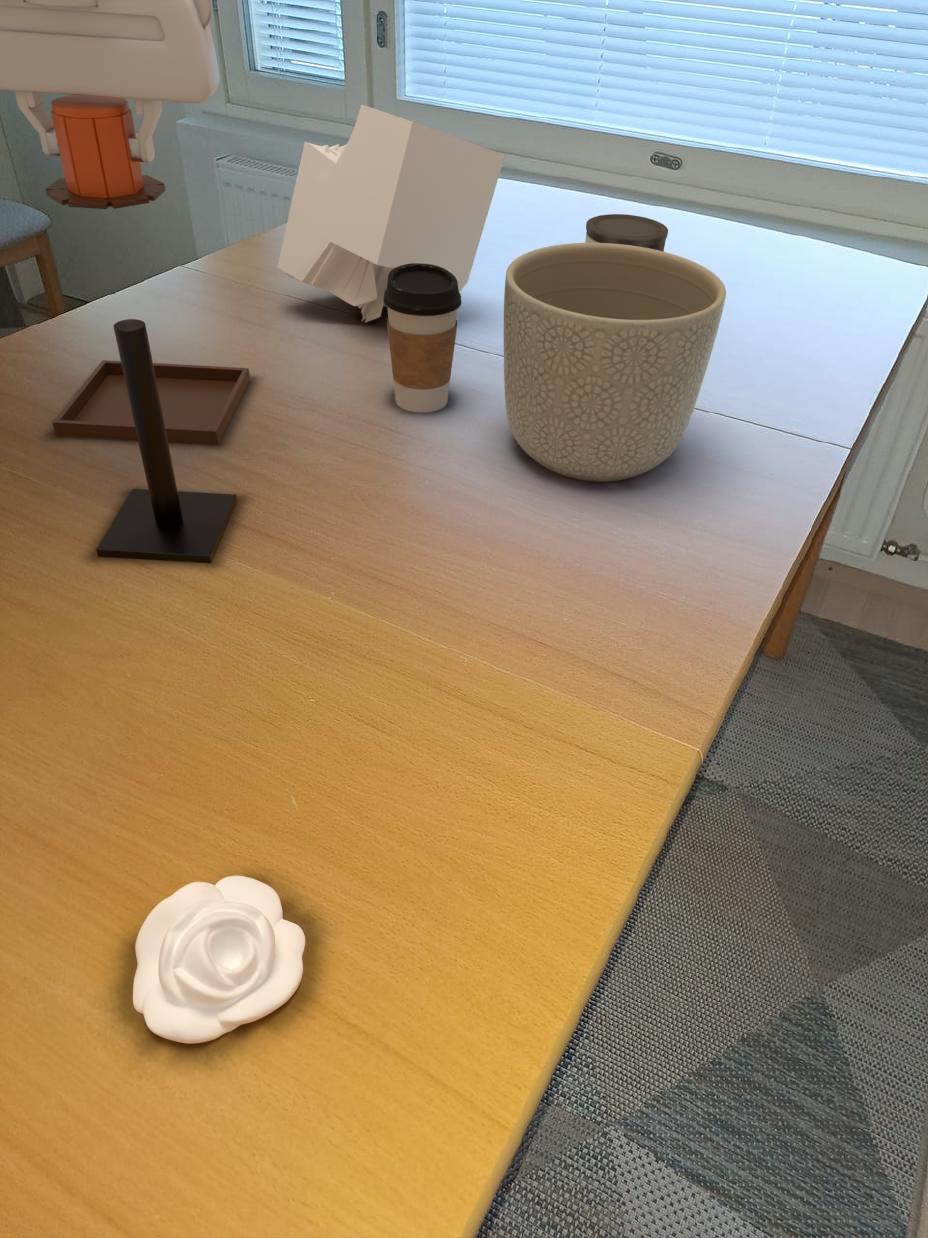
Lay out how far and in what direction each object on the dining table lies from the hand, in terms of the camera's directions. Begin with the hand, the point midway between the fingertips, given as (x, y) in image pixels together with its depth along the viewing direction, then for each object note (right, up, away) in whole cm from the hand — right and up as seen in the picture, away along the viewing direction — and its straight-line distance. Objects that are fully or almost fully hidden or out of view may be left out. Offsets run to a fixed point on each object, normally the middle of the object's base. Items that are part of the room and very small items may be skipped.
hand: (99, 157), depth 73 cm
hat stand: (+2, -29, +11) cm, 31 cm away
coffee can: (+49, +2, +51) cm, 71 cm away
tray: (-5, -14, +29) cm, 32 cm away
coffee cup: (+24, -13, +33) cm, 43 cm away
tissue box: (+18, +5, +53) cm, 57 cm away
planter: (+43, -19, +26) cm, 54 cm away
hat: (0, -2, +2) cm, 3 cm away
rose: (+15, -57, -21) cm, 63 cm away
